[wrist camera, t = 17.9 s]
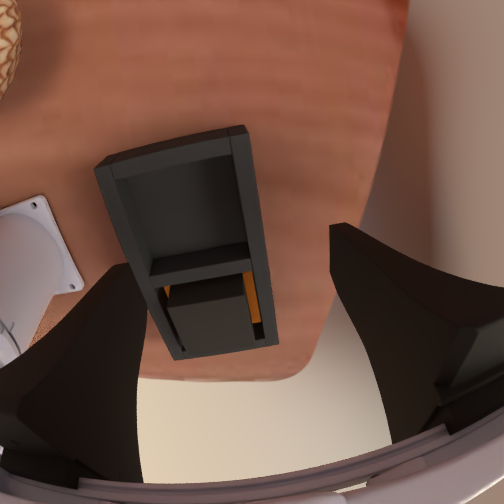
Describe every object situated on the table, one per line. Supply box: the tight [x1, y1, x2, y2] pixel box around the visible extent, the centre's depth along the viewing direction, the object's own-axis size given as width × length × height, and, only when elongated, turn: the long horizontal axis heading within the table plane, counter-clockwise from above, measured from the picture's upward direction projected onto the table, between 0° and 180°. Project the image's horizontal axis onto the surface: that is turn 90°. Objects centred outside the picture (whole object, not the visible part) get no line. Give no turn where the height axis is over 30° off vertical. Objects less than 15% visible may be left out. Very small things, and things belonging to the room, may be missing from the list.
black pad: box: [167, 273, 256, 356], centre depth 22 cm, size 5×5×3 cm
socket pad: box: [94, 125, 279, 361], centre depth 21 cm, size 8×16×2 cm, turn 8°
